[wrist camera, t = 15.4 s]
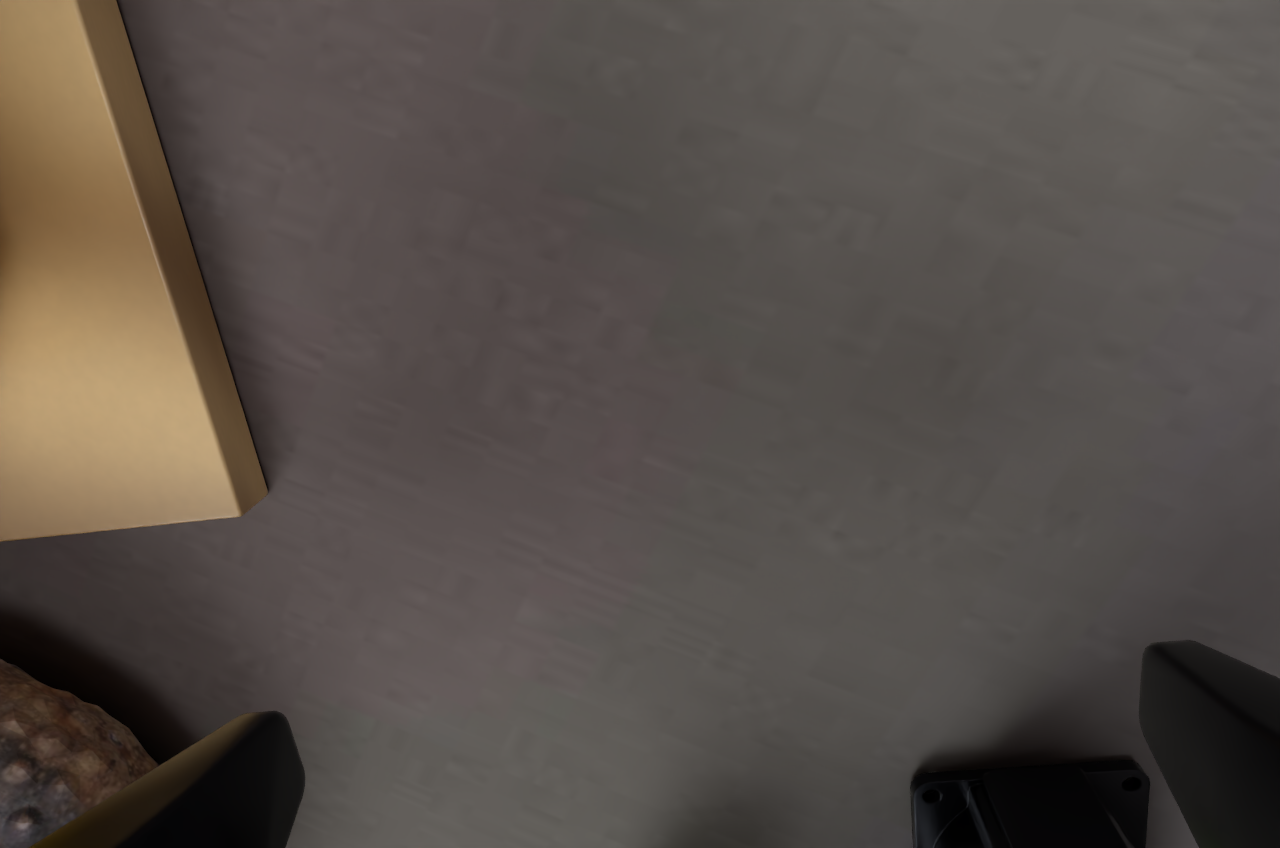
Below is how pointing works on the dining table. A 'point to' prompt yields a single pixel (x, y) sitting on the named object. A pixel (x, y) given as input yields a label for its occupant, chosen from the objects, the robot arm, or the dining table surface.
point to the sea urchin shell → (57, 757)
